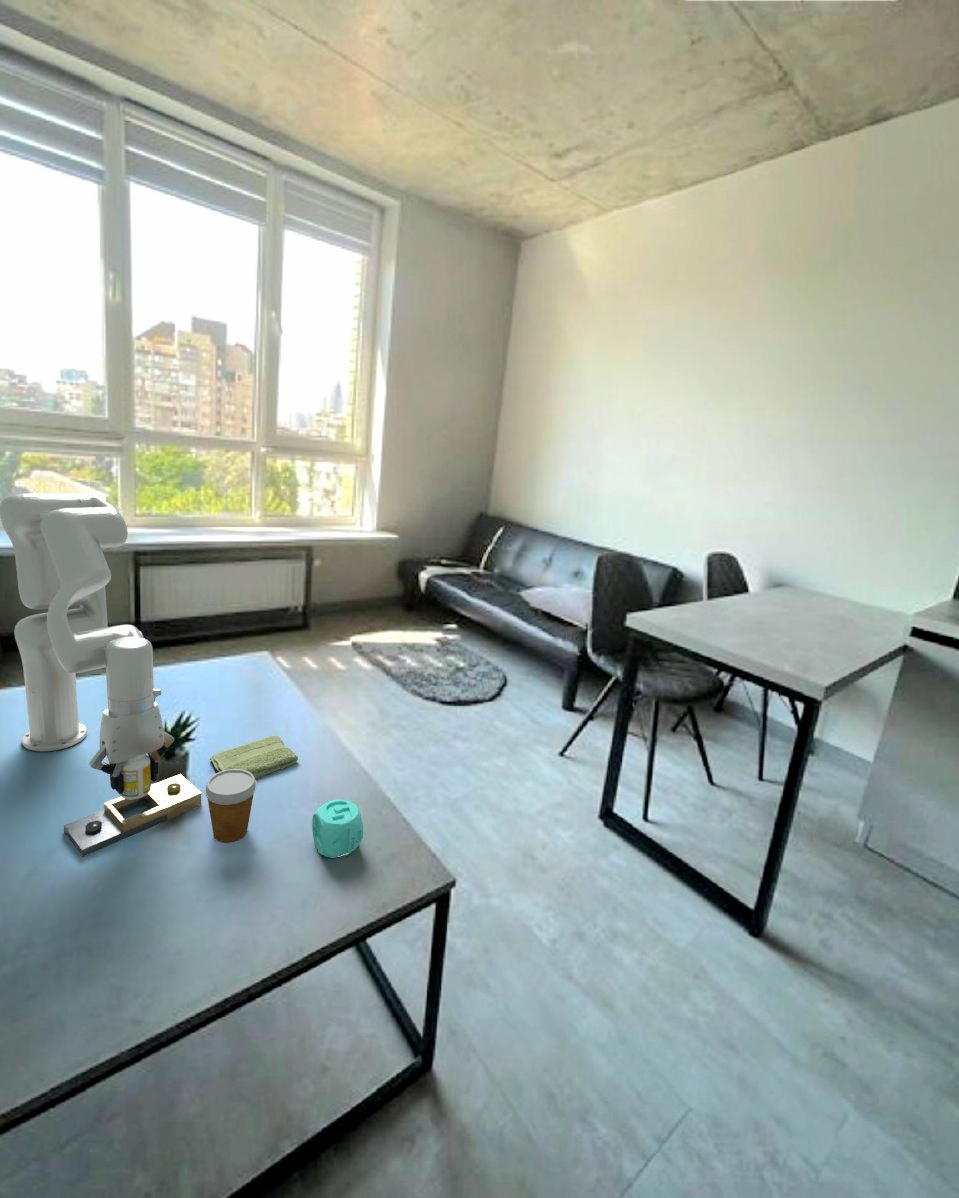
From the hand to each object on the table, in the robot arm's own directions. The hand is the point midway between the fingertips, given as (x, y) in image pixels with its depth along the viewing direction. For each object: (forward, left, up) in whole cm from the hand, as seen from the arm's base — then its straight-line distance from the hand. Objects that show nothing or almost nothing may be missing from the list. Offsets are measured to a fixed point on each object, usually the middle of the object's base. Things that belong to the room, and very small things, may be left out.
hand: (135, 783), depth 113 cm
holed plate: (0, 0, -8) cm, 8 cm away
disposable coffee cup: (+16, +11, -9) cm, 21 cm away
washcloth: (-3, +28, -9) cm, 29 cm away
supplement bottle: (0, 0, -2) cm, 2 cm away
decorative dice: (+33, +24, -9) cm, 42 cm away
